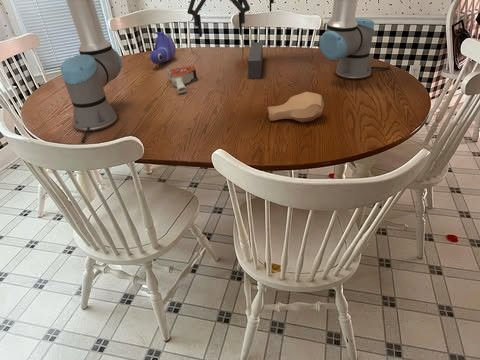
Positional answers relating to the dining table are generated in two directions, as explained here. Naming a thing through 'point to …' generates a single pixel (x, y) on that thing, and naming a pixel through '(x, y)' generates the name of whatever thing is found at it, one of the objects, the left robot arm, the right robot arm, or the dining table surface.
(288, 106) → the squash
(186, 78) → the tape dispenser
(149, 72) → the dining table surface
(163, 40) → the toy
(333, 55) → the right robot arm
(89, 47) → the left robot arm
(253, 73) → the bar
